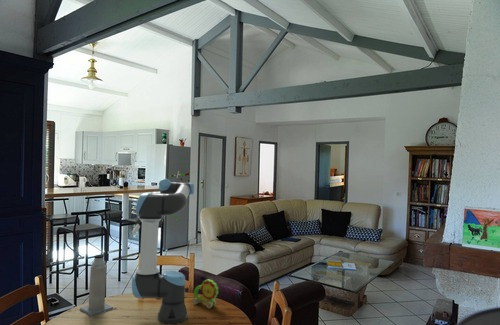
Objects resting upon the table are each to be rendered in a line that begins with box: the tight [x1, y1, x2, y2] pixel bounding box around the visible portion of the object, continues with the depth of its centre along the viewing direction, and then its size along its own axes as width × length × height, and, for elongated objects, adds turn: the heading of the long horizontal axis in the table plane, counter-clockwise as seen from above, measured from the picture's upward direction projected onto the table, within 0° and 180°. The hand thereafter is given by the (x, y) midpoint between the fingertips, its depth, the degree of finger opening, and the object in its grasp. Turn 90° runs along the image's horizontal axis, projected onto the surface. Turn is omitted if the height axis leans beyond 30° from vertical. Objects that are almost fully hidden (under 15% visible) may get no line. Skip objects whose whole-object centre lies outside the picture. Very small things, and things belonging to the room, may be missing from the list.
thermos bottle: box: [88, 254, 107, 310], centre depth 185 cm, size 8×8×28 cm
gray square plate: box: [79, 303, 114, 317], centre depth 185 cm, size 12×12×1 cm
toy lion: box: [191, 278, 219, 310], centre depth 196 cm, size 16×5×15 cm, turn 61°
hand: (141, 234), depth 206 cm, fingers open, 13 cm apart
